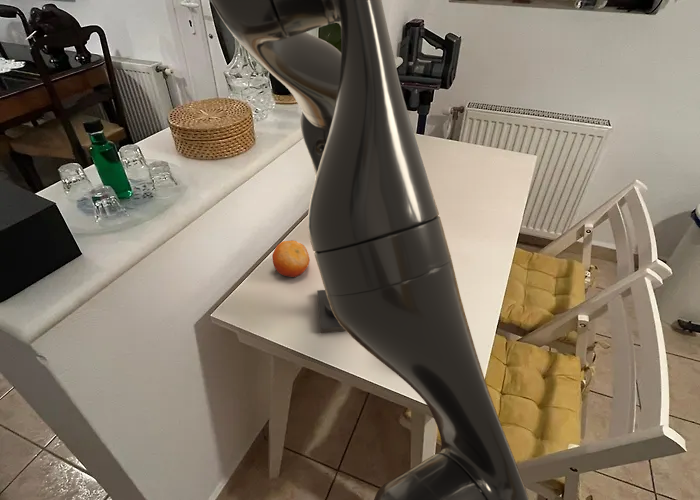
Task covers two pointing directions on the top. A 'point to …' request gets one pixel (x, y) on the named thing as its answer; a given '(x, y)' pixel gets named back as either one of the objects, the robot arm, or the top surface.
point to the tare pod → (327, 314)
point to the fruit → (290, 258)
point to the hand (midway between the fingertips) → (338, 292)
